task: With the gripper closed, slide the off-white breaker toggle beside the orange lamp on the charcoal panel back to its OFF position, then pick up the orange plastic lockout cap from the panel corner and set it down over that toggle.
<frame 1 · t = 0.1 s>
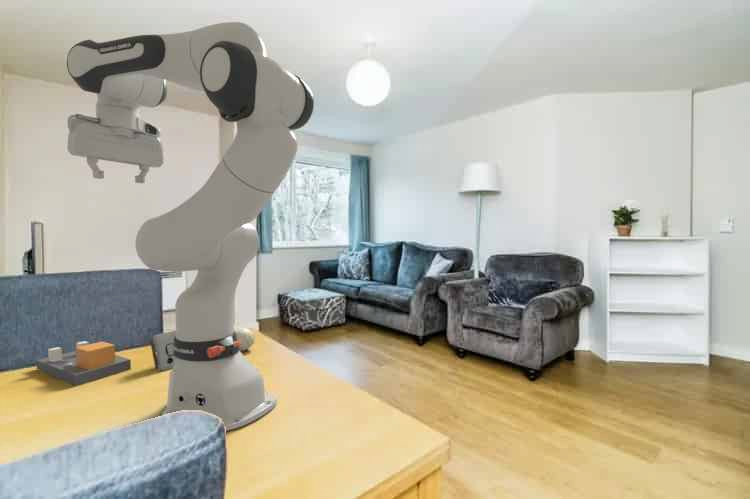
hand: (120, 180, 91), 48 cm above the table, tool pointing down, fingers open, 8 cm apart
electrical switch: (171, 365, 99), on the table
tagged toggle: (82, 348, 100), point 4 cm above the table, slide at 0.0 cm
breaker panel: (84, 369, 96), on the table
plain toggle: (55, 354, 94), point 4 cm above the table, slide at 0.0 cm
lockout cap: (96, 364, 93), point 2 cm above the table, touching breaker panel
baseball: (242, 350, 112), on the table
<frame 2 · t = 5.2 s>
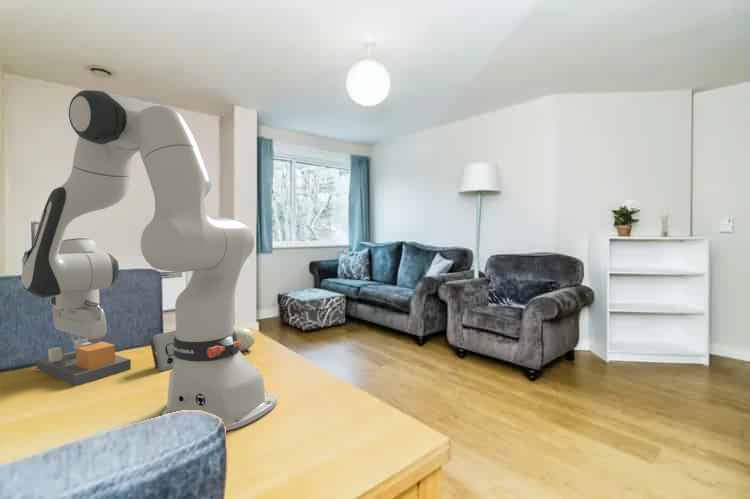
hand: (80, 350, 100), 3 cm above the table, tool pointing down, fingers closed
tagged toggle: (85, 348, 99), point 4 cm above the table, slide at 1.5 cm, touching gripper
everything else where it was.
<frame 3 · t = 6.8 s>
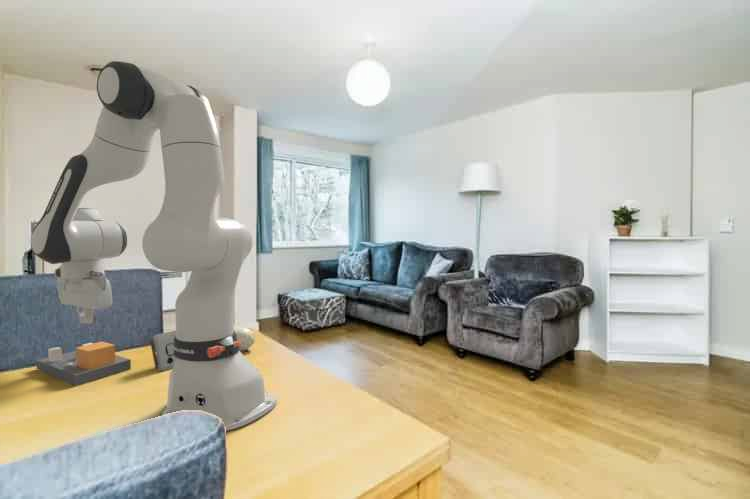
hand: (86, 322, 99), 11 cm above the table, tool pointing down, fingers closed
tagged toggle: (88, 349, 98), point 4 cm above the table, slide at 3.1 cm
everything else where it was.
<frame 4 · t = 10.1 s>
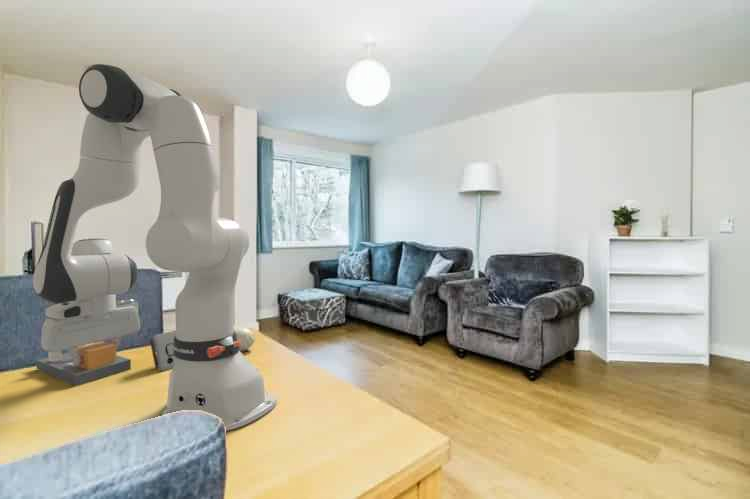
hand: (95, 359, 93), 4 cm above the table, tool pointing down, fingers closed on lockout cap, 6 cm apart
lockout cap: (96, 364, 93), point 2 cm above the table, touching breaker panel, gripper
everything else where it was.
when the fingers open (5 cm above the table, at t = 15.6 s): lockout cap stays where it is, resting on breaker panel.
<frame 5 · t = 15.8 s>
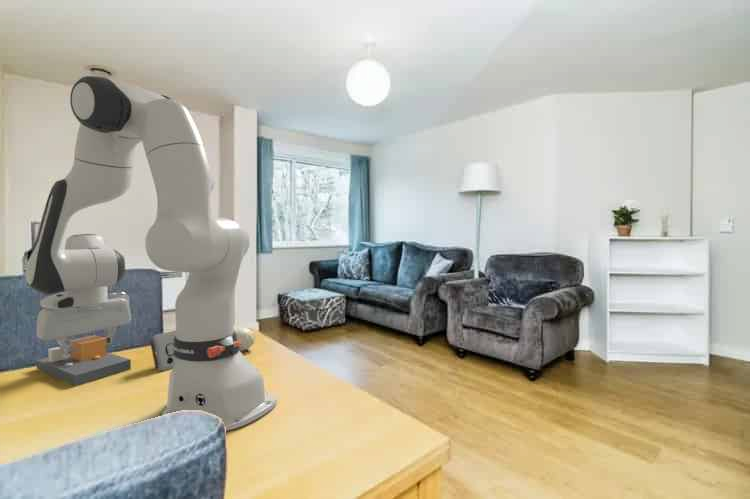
hand: (88, 348, 98), 5 cm above the table, tool pointing down, fingers open, 8 cm apart
lockout cap: (88, 356, 98), point 2 cm above the table, touching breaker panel
everything else where it was.
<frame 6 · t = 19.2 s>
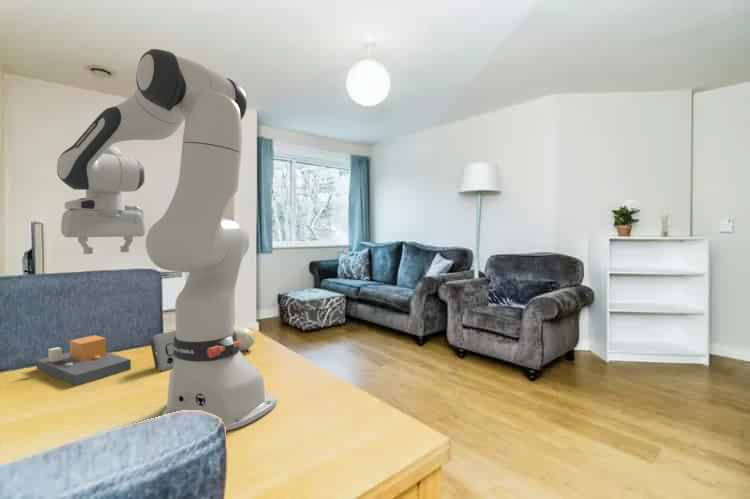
hand: (107, 253, 107), 29 cm above the table, tool pointing down, fingers open, 8 cm apart
nothing on the table moved.
at the end: tagged toggle slide at 3.1 cm; lockout cap 0.0 cm from the target spot, point 2.5 cm above the table; plain toggle slide at 0.0 cm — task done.
